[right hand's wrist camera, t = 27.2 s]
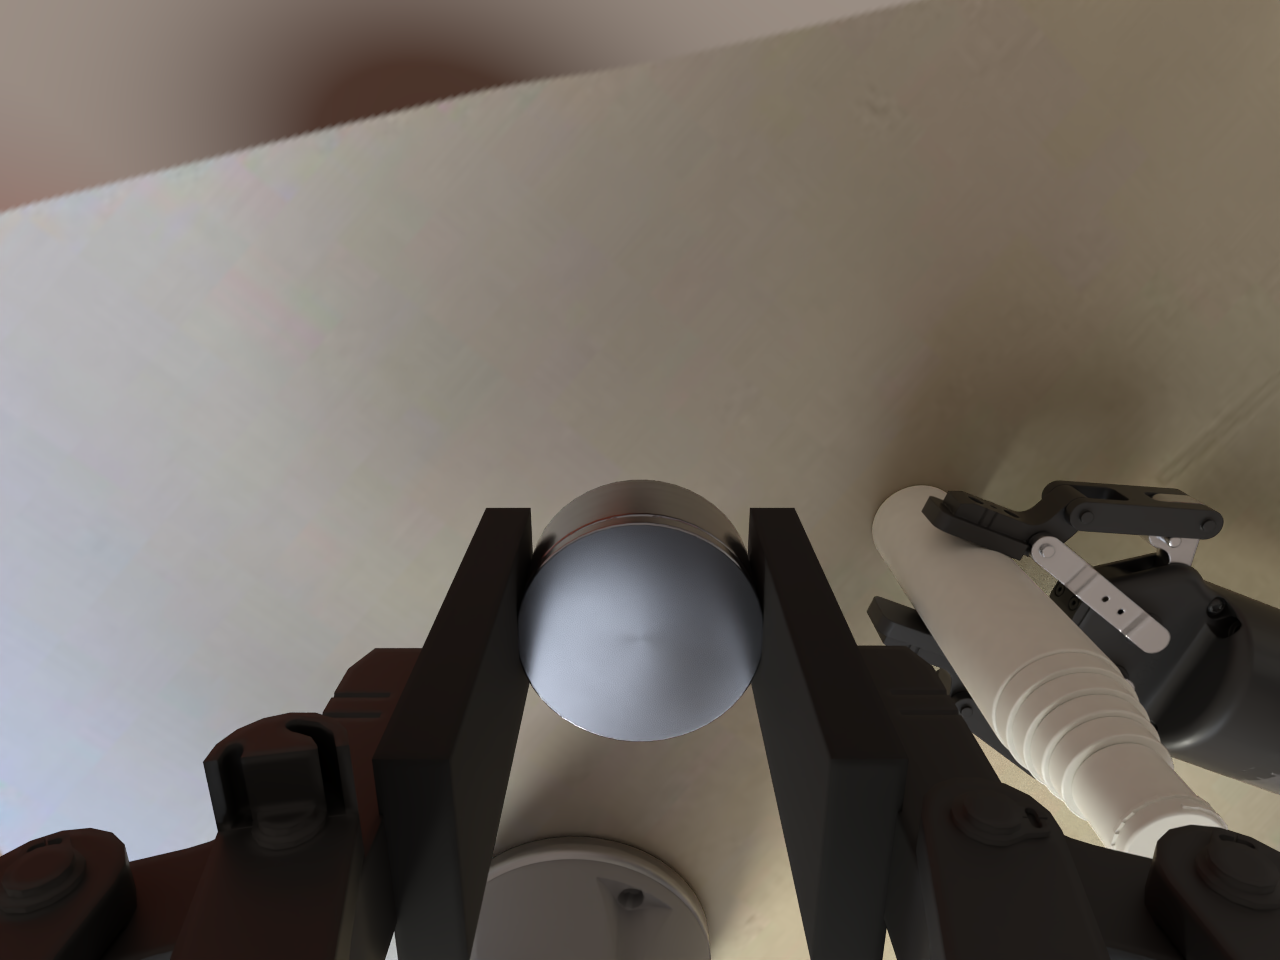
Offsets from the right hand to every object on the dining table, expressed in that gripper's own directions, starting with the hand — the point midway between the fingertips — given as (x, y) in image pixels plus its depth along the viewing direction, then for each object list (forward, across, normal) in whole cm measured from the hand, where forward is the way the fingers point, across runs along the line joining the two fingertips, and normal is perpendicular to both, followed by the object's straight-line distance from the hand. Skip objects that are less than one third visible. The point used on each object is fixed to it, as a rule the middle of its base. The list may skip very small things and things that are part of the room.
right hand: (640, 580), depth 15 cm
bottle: (+24, +13, -9) cm, 29 cm away
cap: (-2, 0, 0) cm, 2 cm away
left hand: (+18, +11, -8) cm, 22 cm away
